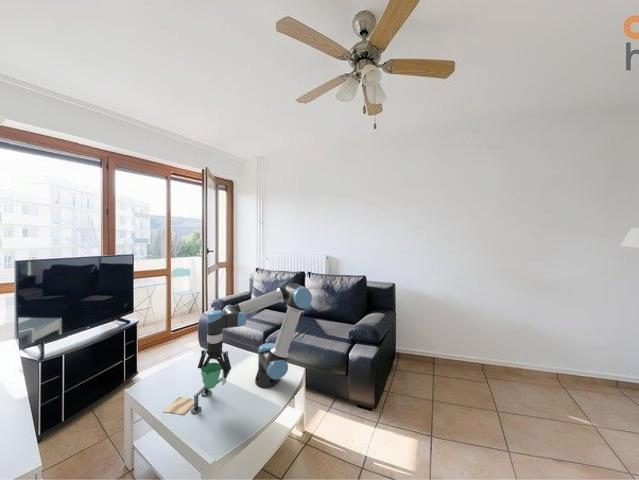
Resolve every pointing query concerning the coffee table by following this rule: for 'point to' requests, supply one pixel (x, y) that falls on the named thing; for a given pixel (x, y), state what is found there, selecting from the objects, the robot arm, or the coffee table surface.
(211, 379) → the mug
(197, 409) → the metal wall bracket
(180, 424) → the coffee table surface
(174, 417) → the coffee table surface
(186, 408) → the coaster
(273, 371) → the robot arm
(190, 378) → the coffee table surface
